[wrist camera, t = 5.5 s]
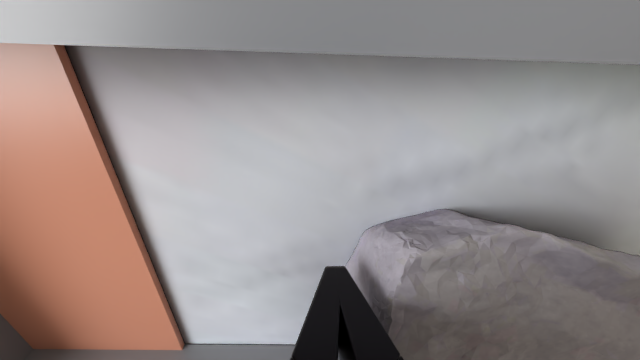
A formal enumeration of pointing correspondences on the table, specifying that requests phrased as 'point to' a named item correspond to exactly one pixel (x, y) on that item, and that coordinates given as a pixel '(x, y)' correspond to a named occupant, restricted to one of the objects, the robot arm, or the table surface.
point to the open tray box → (100, 178)
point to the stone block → (496, 291)
